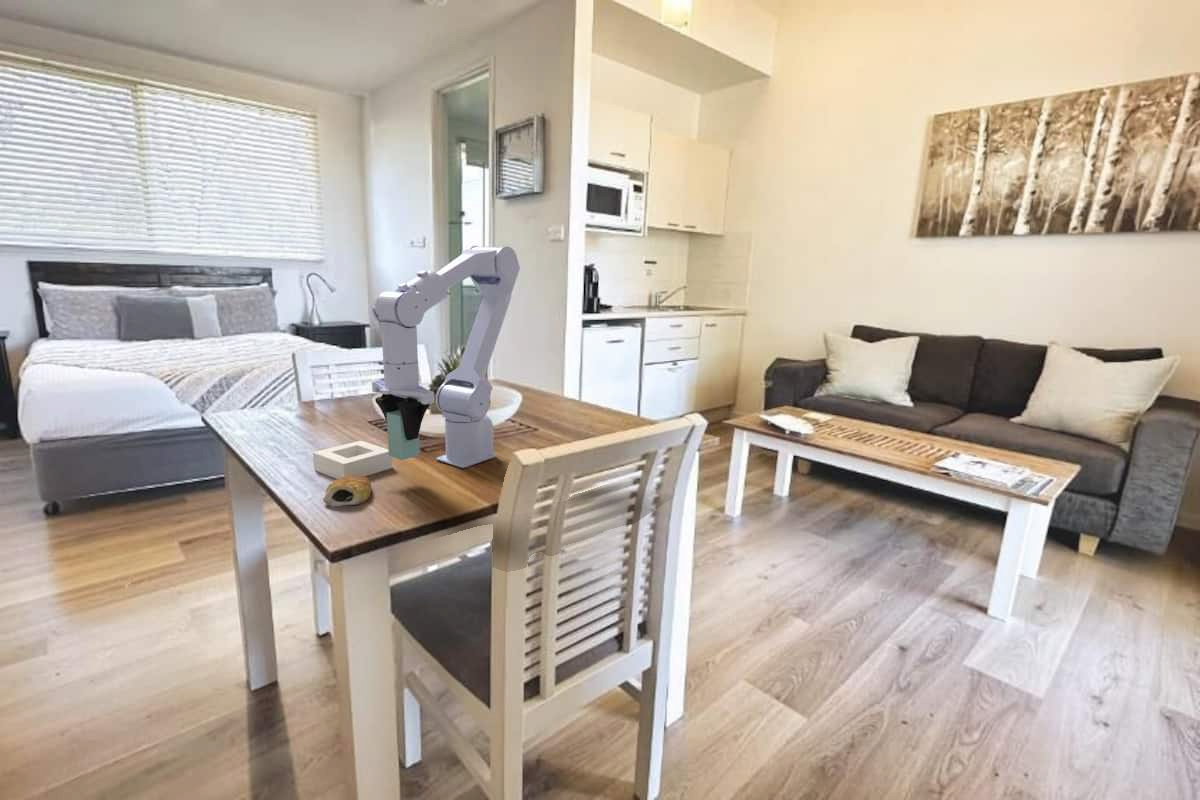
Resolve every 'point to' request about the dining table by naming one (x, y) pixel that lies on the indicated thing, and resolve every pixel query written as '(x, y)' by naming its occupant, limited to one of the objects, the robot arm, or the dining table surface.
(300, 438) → the dining table surface
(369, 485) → the pastry
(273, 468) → the dining table surface
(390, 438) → the post
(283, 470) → the dining table surface
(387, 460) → the well
